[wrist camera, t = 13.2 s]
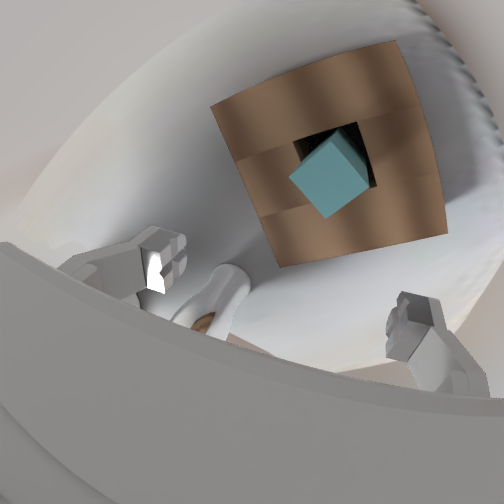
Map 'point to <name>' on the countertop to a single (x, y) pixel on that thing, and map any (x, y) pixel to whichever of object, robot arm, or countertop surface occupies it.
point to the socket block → (328, 117)
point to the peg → (332, 173)
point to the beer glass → (215, 302)
